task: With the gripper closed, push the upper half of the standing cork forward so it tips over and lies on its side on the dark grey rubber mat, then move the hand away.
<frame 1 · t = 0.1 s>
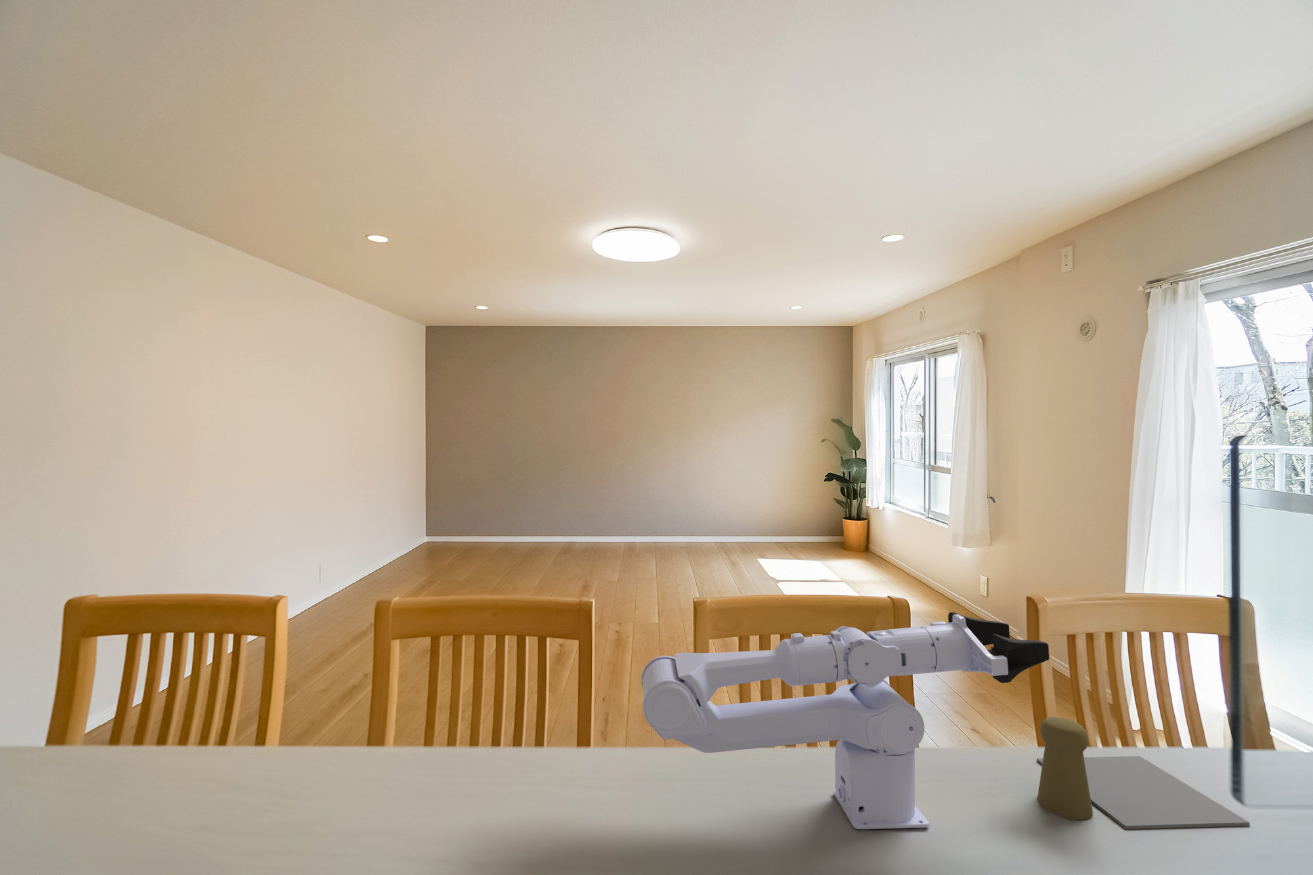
hand: (1026, 640, 78), 22 cm above the table, tool horizontal, fingers open, 7 cm apart
cork: (1064, 807, 78), on the table
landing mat: (1133, 790, 82), on the table
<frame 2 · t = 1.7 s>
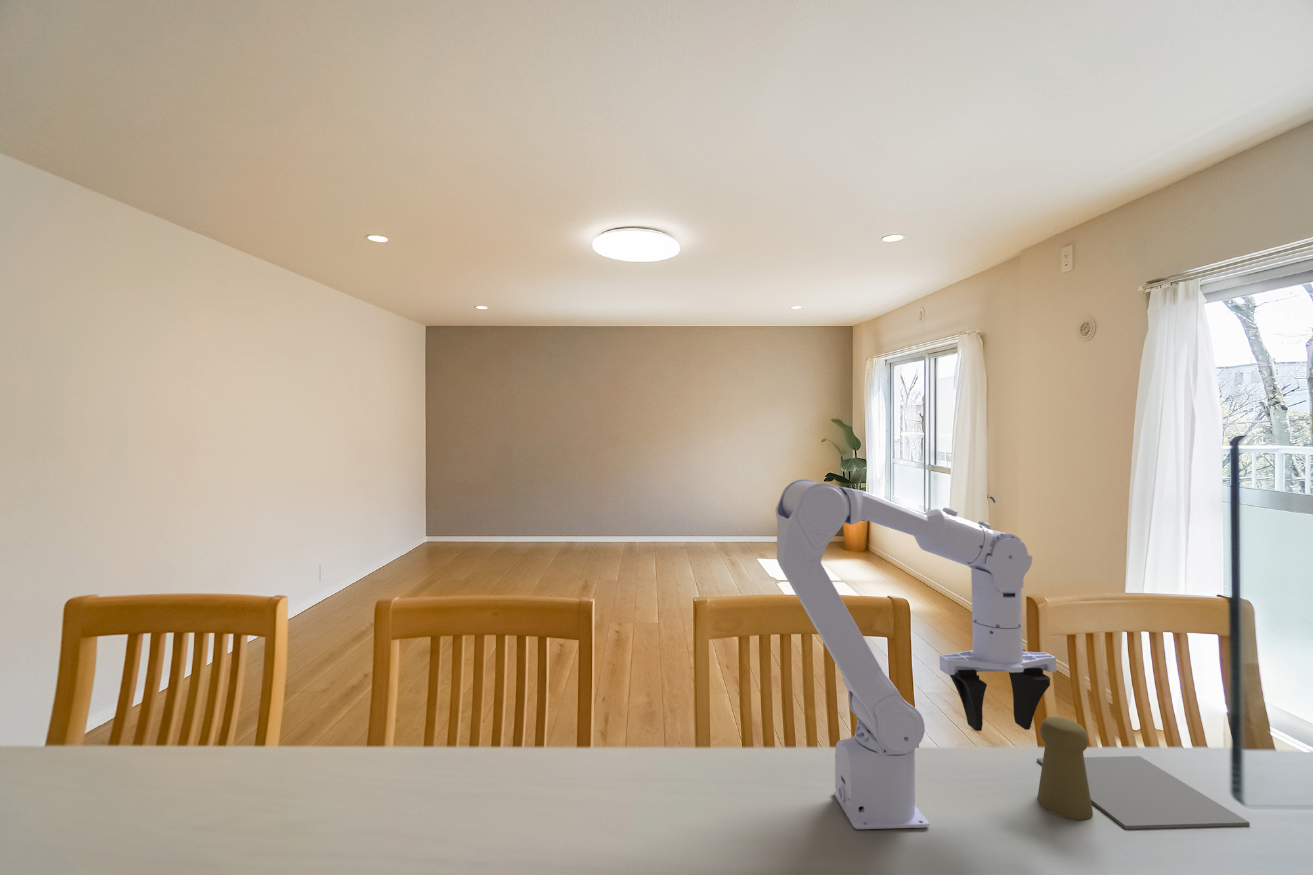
hand: (998, 726, 78), 10 cm above the table, tool pointing down, fingers open, 6 cm apart
nothing on the table moved.
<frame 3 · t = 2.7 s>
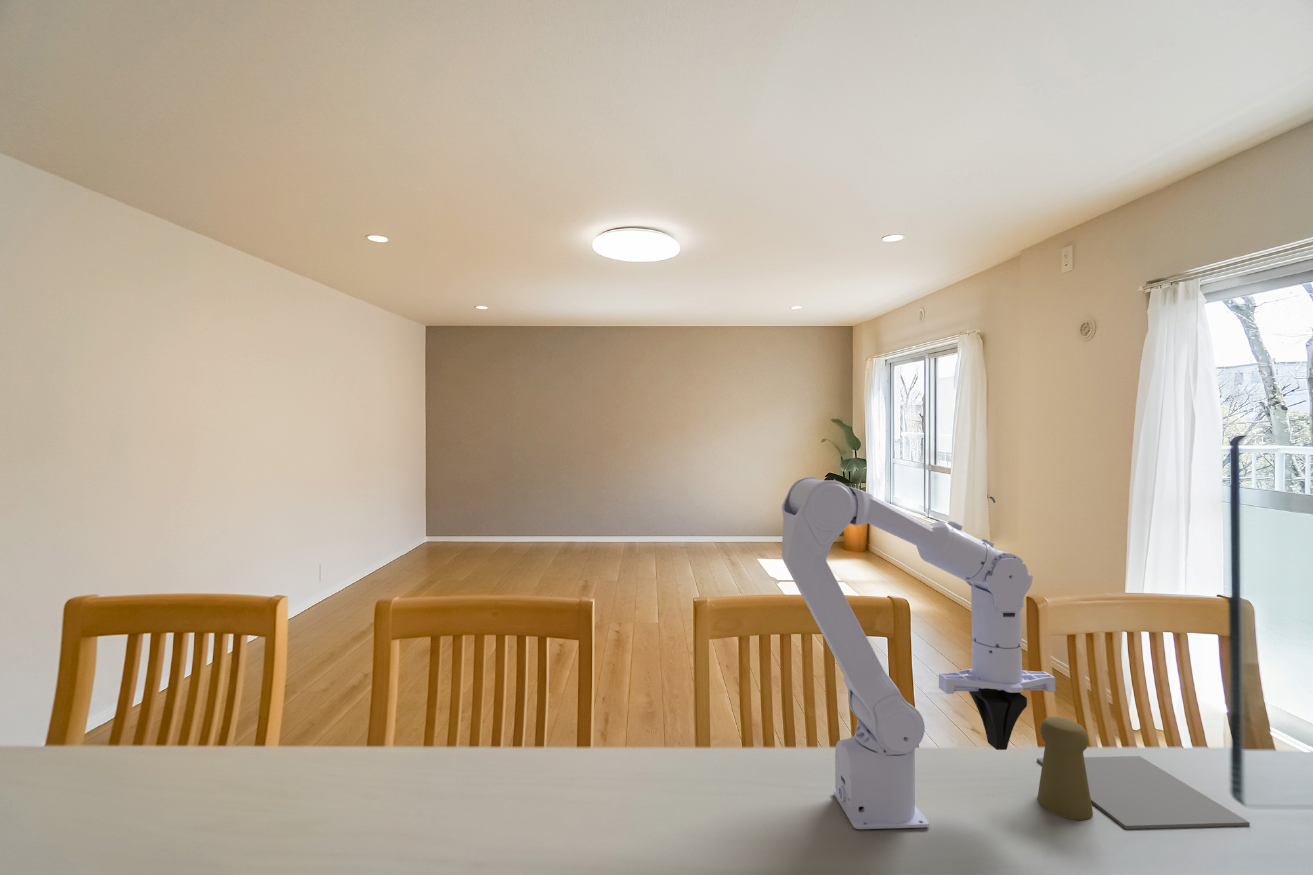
hand: (997, 746, 78), 8 cm above the table, tool pointing down, fingers closed
nothing on the table moved.
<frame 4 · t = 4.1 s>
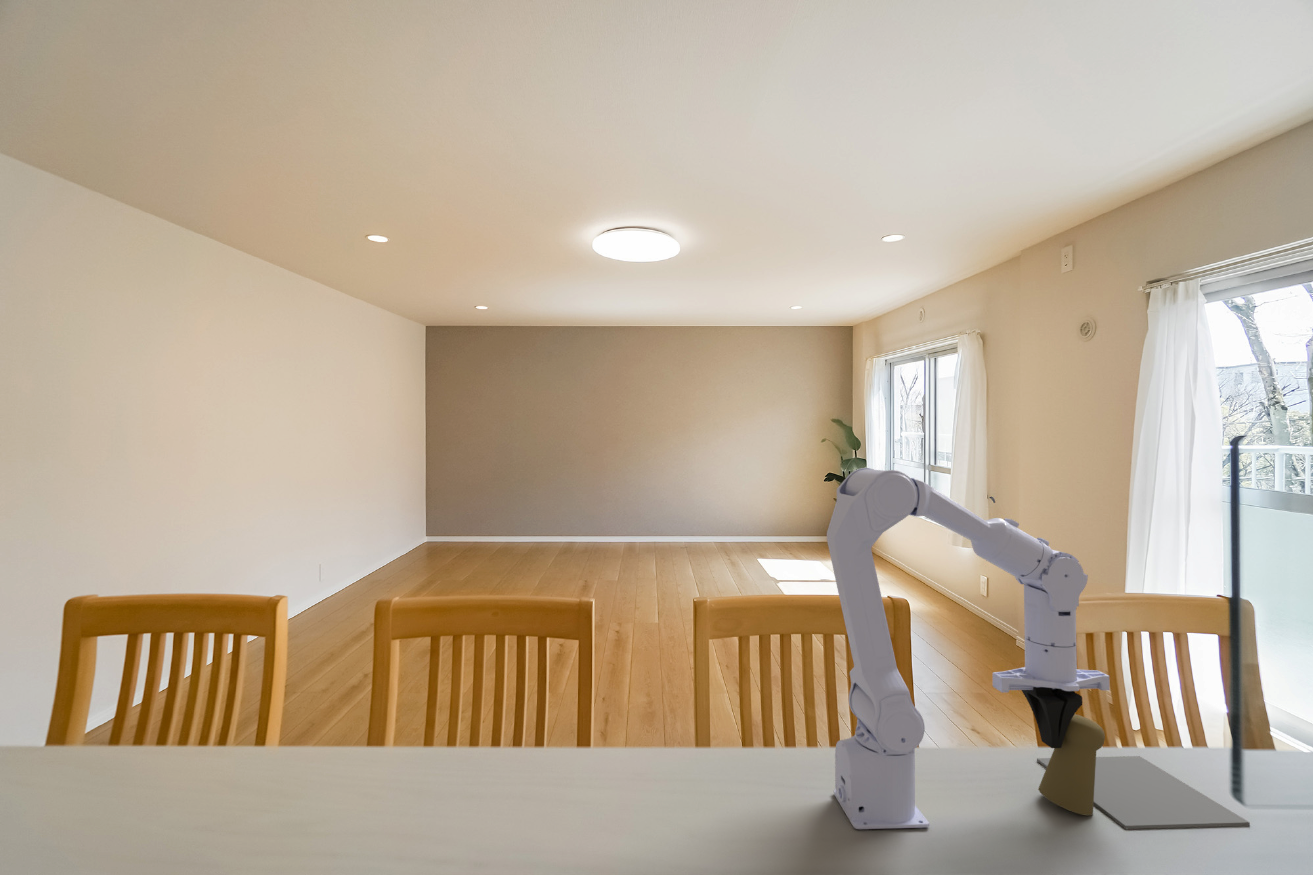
hand: (1051, 744, 78), 8 cm above the table, tool pointing down, fingers closed
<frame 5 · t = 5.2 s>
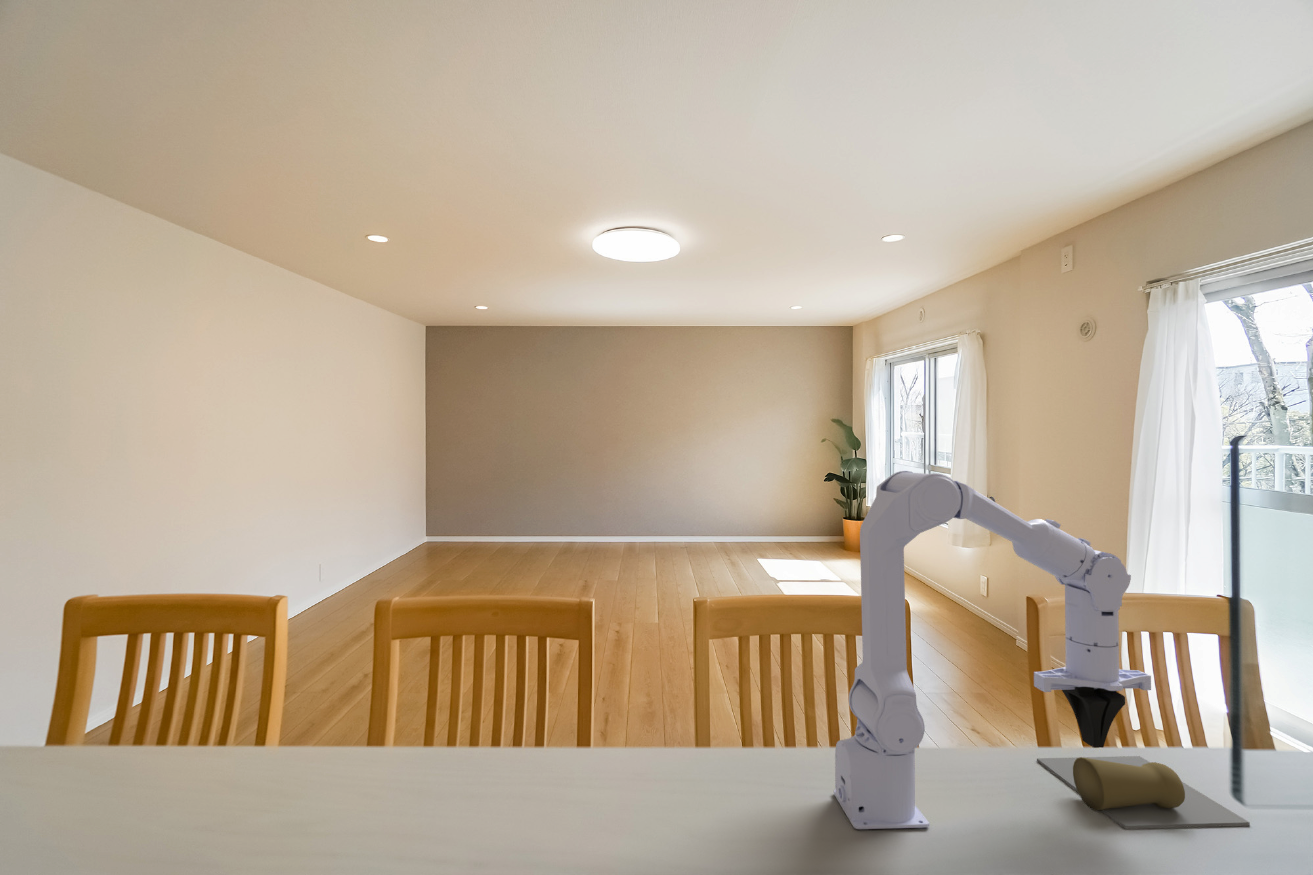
hand: (1092, 744, 78), 8 cm above the table, tool pointing down, fingers closed
cork: (1086, 783, 78), point 3 cm above the table, touching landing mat
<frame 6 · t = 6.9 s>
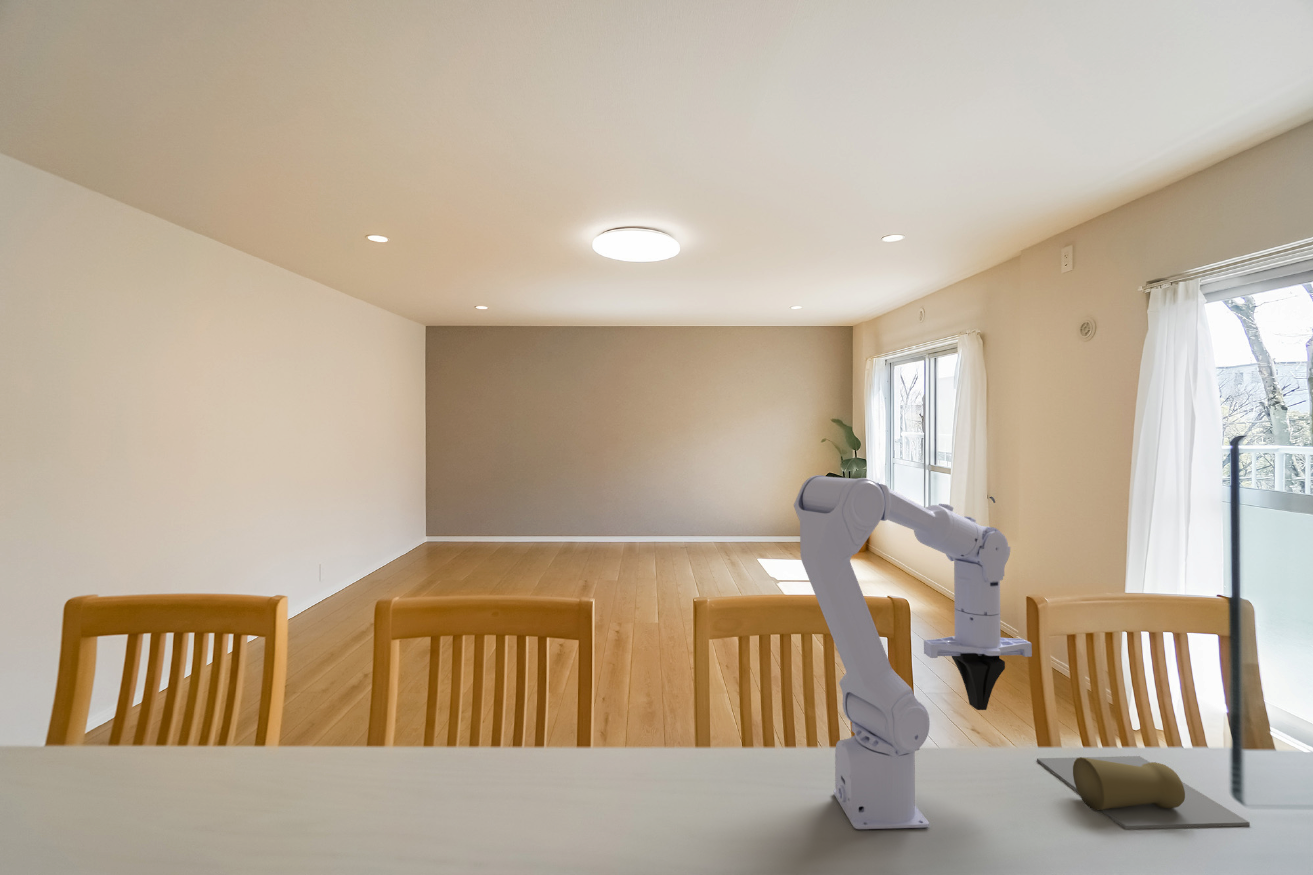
hand: (977, 707, 84), 10 cm above the table, tool pointing down, fingers closed
nothing on the table moved.
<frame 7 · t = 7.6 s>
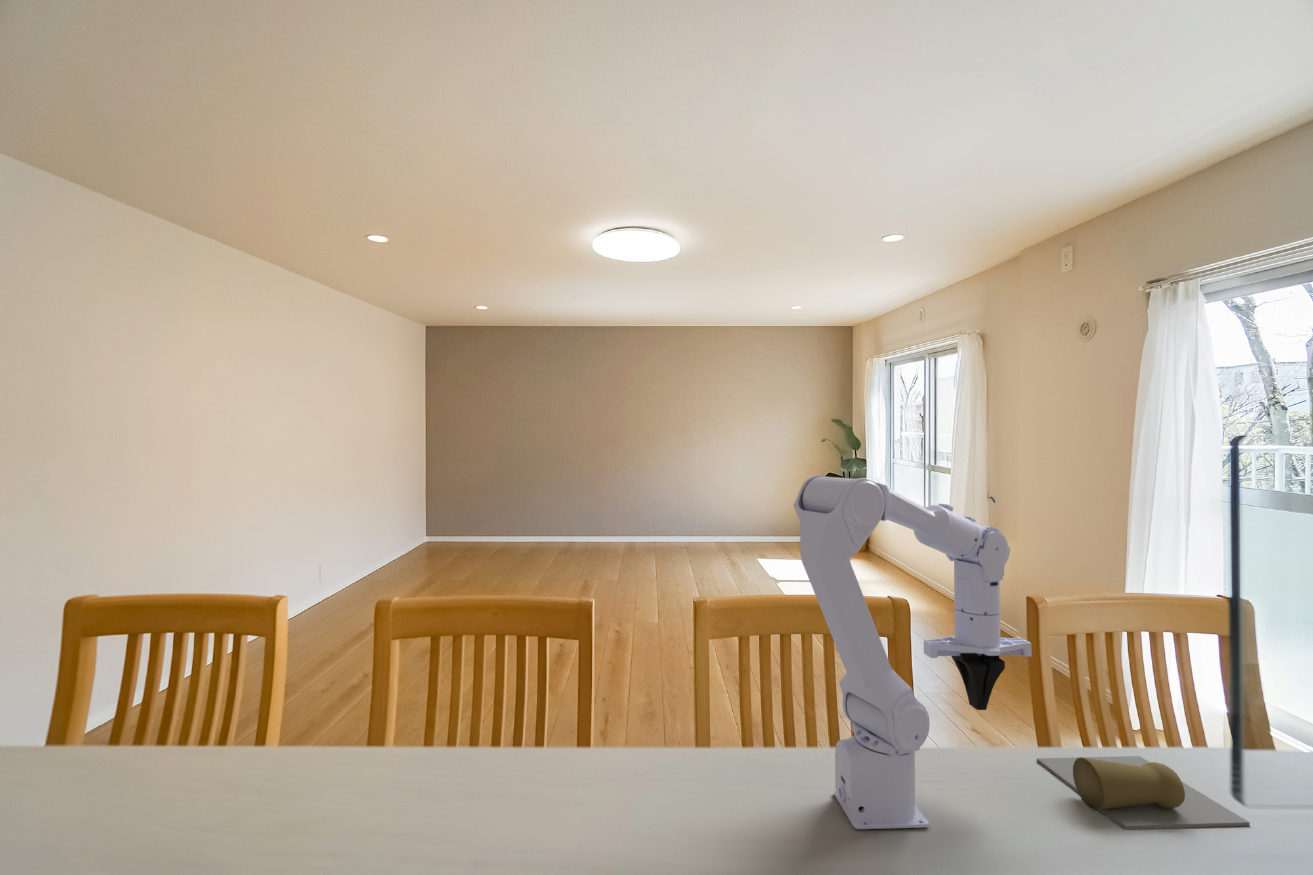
hand: (977, 706, 84), 10 cm above the table, tool pointing down, fingers closed
nothing on the table moved.
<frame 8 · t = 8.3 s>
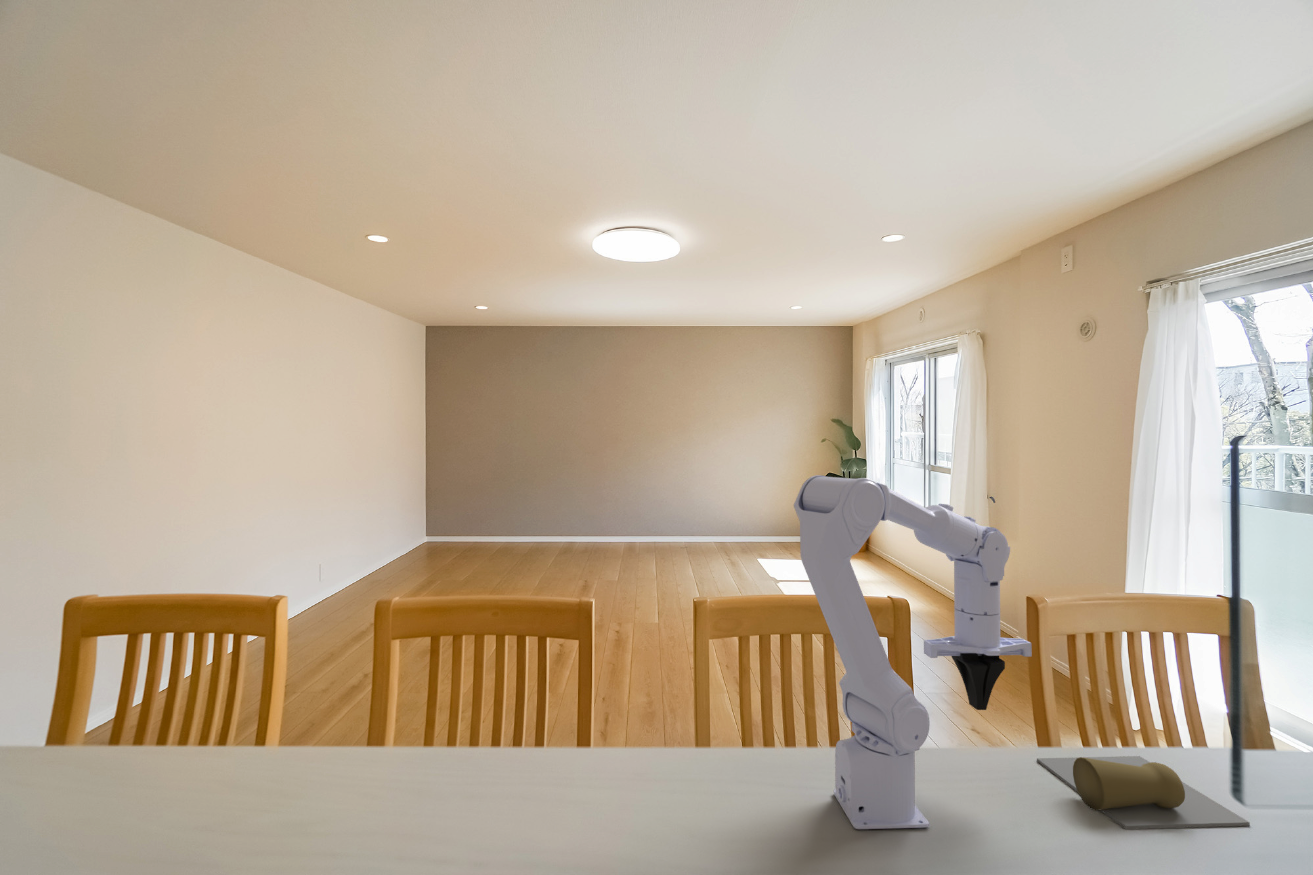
hand: (977, 706, 84), 10 cm above the table, tool pointing down, fingers closed
nothing on the table moved.
at the end: cork tilted 90°; cork touching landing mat, table; cork inside the target area (6.6 cm from its centre), point 3.0 cm above the table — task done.
